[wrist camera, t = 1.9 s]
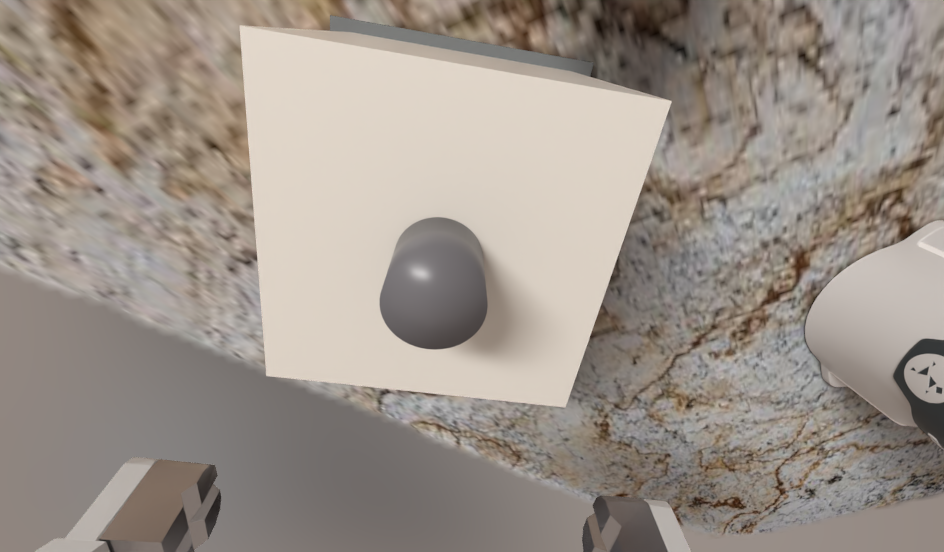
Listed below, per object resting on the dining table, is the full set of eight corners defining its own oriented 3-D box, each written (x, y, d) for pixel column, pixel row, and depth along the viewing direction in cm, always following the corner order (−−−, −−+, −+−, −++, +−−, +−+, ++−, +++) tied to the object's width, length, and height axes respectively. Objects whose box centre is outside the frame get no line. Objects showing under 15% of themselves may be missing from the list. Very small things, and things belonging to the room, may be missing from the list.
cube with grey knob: (571, 71, 33) (727, 117, 13) (525, 263, 40) (582, 469, 21) (351, 32, 31) (173, 21, 12) (346, 238, 39) (231, 437, 19)
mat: (591, 62, 33) (593, 62, 32) (538, 269, 41) (539, 273, 41) (332, 15, 31) (330, 15, 31) (330, 242, 39) (328, 244, 39)
